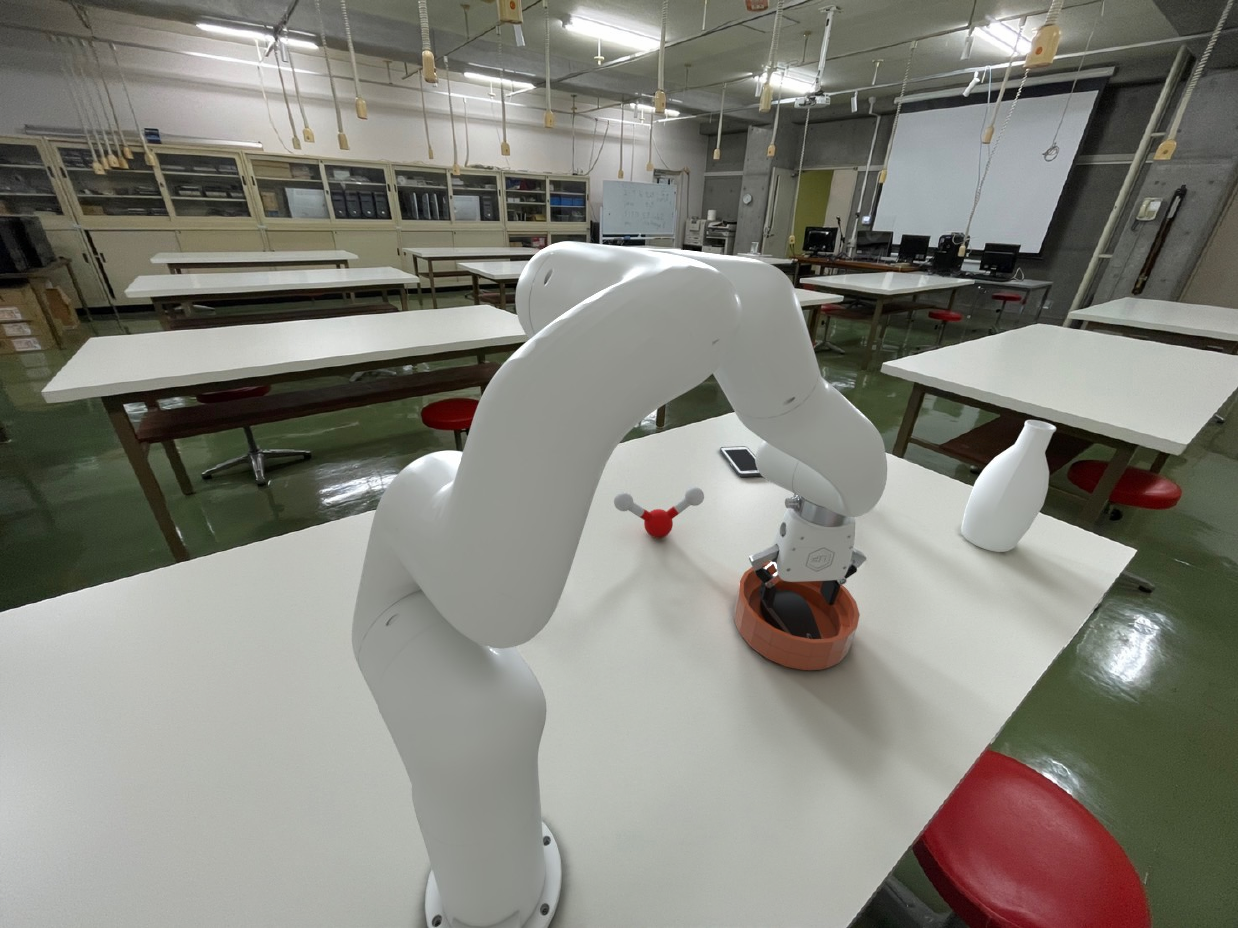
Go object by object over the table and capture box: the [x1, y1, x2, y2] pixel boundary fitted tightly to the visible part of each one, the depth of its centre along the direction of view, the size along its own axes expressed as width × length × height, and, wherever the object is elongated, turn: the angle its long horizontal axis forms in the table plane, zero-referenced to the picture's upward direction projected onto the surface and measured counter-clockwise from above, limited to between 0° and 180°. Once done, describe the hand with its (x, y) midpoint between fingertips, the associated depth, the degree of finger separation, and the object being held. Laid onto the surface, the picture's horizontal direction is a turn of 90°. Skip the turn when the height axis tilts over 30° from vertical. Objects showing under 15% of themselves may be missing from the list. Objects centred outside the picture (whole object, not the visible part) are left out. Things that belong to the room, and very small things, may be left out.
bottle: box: [960, 419, 1057, 553], centre depth 95 cm, size 11×11×25 cm
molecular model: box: [613, 486, 705, 539], centre depth 96 cm, size 18×6×10 cm, turn 107°
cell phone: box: [719, 445, 763, 478], centre depth 126 cm, size 8×15×1 cm, turn 10°
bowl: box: [733, 561, 861, 671], centre depth 77 cm, size 17×17×6 cm
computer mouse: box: [760, 590, 822, 639], centre depth 77 cm, size 7×12×4 cm, turn 16°
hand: (796, 600), depth 76 cm, fingers open, 9 cm apart
